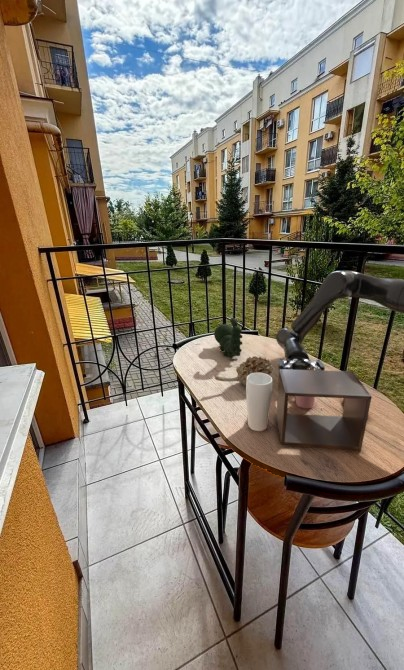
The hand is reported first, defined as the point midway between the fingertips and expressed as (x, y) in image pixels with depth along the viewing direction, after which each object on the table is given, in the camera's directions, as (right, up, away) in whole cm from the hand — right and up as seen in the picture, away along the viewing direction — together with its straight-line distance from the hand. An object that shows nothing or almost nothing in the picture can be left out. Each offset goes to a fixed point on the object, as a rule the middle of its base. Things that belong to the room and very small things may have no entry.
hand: (304, 376), depth 87 cm
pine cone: (-18, -5, +11) cm, 21 cm away
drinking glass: (-17, -12, -9) cm, 23 cm away
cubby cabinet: (-2, -13, -12) cm, 18 cm away
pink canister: (0, -8, 0) cm, 8 cm away
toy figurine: (-20, +5, +40) cm, 45 cm away
